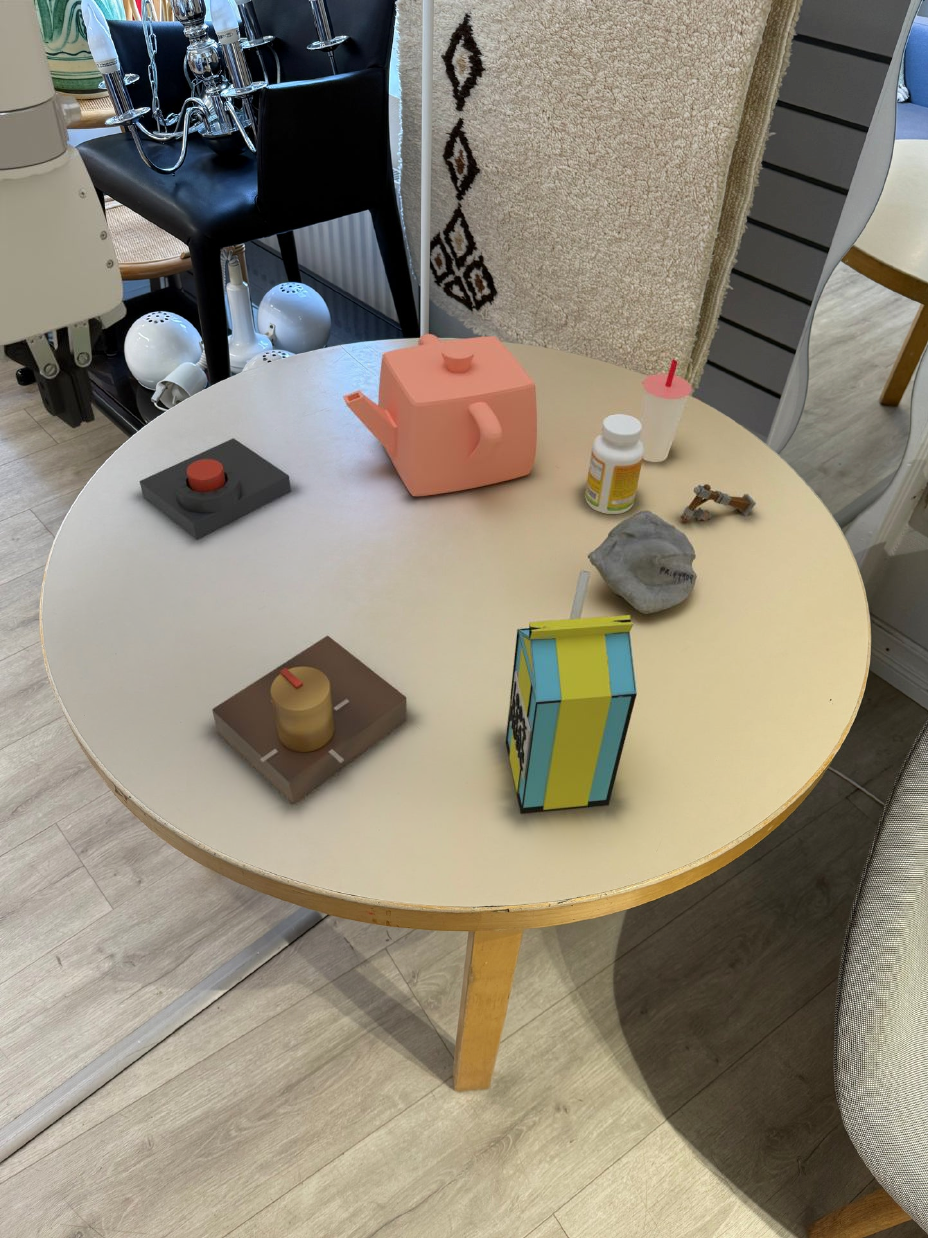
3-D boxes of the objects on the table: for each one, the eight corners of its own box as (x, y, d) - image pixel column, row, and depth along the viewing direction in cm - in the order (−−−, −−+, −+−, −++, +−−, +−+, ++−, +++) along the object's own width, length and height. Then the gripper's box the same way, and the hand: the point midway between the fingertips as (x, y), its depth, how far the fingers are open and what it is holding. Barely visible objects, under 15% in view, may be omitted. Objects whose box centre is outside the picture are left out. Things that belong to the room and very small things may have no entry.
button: (202, 497, 91) (200, 483, 90) (182, 482, 93) (179, 468, 92) (232, 483, 93) (230, 469, 92) (212, 468, 95) (209, 454, 94)
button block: (198, 541, 92) (191, 510, 89) (143, 497, 97) (135, 466, 94) (292, 493, 98) (289, 462, 95) (236, 454, 103) (231, 423, 100)
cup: (684, 453, 106) (706, 360, 98) (659, 473, 103) (680, 378, 95) (646, 436, 108) (664, 343, 100) (620, 454, 106) (637, 360, 97)
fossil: (619, 640, 83) (633, 575, 78) (563, 583, 89) (572, 518, 83) (710, 601, 88) (730, 537, 82) (651, 549, 93) (666, 485, 88)
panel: (301, 818, 69) (297, 794, 67) (214, 734, 74) (207, 709, 72) (418, 729, 75) (417, 704, 73) (330, 658, 81) (327, 633, 79)
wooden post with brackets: (671, 512, 96) (694, 477, 94) (724, 524, 100) (748, 492, 98) (679, 522, 95) (703, 487, 93) (732, 534, 99) (757, 501, 97)
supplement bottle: (639, 494, 100) (655, 417, 93) (625, 521, 96) (640, 443, 90) (593, 481, 102) (605, 404, 95) (577, 507, 98) (589, 429, 91)
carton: (588, 727, 76) (622, 564, 63) (612, 805, 70) (653, 643, 58) (501, 735, 75) (517, 570, 63) (518, 814, 70) (540, 652, 57)
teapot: (481, 402, 113) (486, 294, 103) (554, 503, 98) (569, 389, 89) (325, 428, 107) (315, 317, 98) (378, 540, 93) (373, 422, 83)
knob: (346, 731, 71) (341, 686, 67) (300, 762, 69) (293, 717, 65) (311, 700, 73) (305, 654, 70) (266, 729, 71) (258, 683, 67)
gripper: (79, 97, 57) (137, 364, 70) (-174, 140, 49) (-57, 434, 62) (146, 125, 54) (194, 401, 66) (-115, 176, 45) (-4, 480, 58)
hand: (73, 416), depth 64 cm, fingers closed
